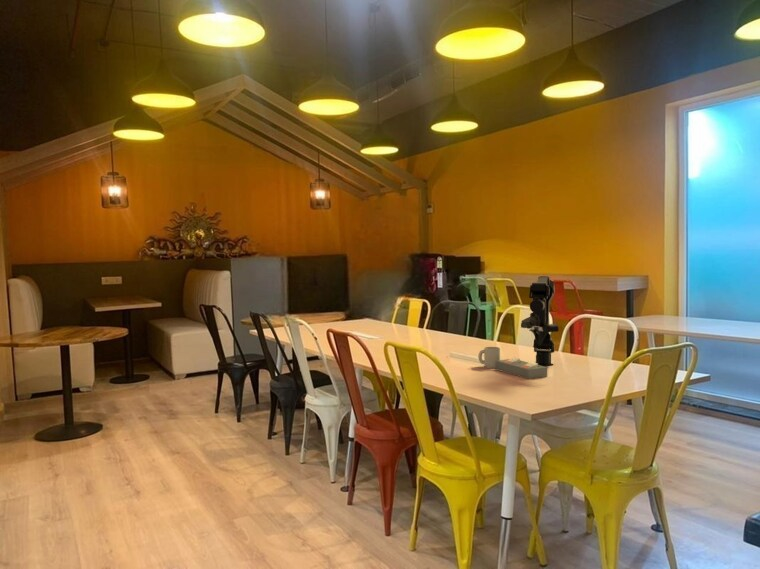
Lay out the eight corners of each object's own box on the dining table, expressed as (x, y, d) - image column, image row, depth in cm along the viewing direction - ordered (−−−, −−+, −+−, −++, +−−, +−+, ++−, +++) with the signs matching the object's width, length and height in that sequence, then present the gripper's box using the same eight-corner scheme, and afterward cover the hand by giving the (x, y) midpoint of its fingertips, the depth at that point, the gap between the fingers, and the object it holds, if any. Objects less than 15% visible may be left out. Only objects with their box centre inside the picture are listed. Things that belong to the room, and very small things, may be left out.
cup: (499, 368, 261) (499, 349, 261) (478, 367, 264) (477, 348, 263) (500, 365, 268) (500, 346, 268) (478, 364, 271) (478, 346, 270)
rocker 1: (514, 359, 260) (514, 357, 259) (520, 361, 256) (519, 358, 256) (504, 364, 257) (503, 361, 257) (510, 365, 254) (509, 363, 253)
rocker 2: (532, 364, 249) (531, 361, 248) (538, 366, 245) (537, 363, 245) (521, 369, 246) (520, 366, 246) (527, 370, 243) (526, 367, 242)
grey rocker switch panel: (513, 367, 264) (513, 358, 264) (547, 376, 243) (547, 367, 243) (495, 369, 260) (495, 360, 259) (528, 379, 239) (528, 369, 239)
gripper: (511, 310, 255) (511, 344, 256) (539, 313, 238) (539, 350, 239) (530, 308, 260) (530, 342, 261) (559, 312, 243) (559, 348, 244)
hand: (539, 345), depth 251 cm, fingers closed
